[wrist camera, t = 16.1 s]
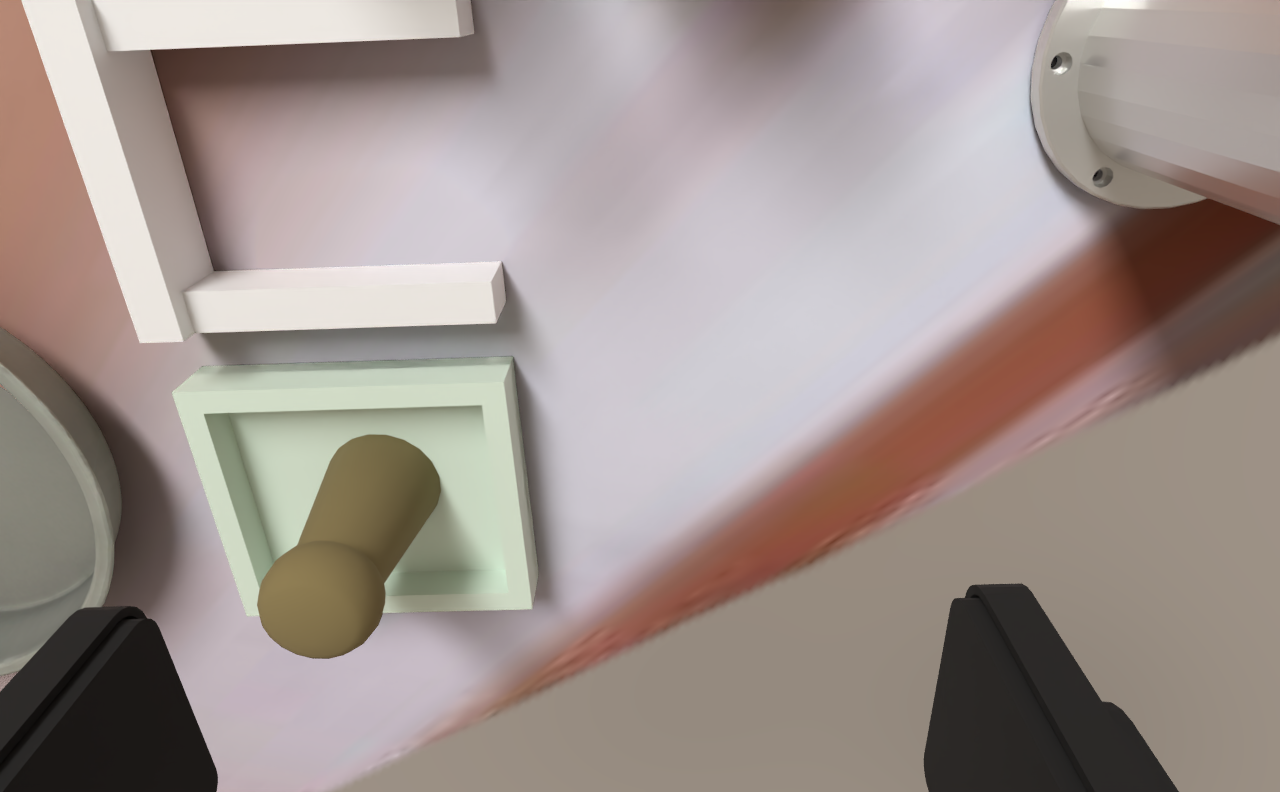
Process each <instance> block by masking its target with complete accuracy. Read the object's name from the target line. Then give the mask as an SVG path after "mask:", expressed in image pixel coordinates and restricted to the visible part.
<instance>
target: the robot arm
mask: <svg viewBox="0 0 1280 792" xmlns="http://www.w3.org/2000/svg"><path fill="white" fill-rule="evenodd" d="M1055 56H1056V57H1057V63H1056V65H1055V66H1054V67H1053V68H1051V62H1052V60H1053V58H1054V57H1055ZM1031 105H1032V111H1033V117H1034V123H1035V128H1036V130H1037V133H1038V135H1039V138H1040V140H1041V143H1042V146H1043V148H1044V150H1045V152H1046V153H1047V155H1048V156H1049V158H1050V159H1051V161H1052V162H1053V164H1054V165H1055V166H1056V168H1057V169H1058V171H1060V172H1061V173H1062V174H1063V175H1064V176H1065V177H1066V178H1067V179H1069V180H1070V181H1071V182H1072V183H1073V184H1074V185H1075V186H1077V187H1079V188H1081V189H1082V190H1084V191H1086V192H1088V193H1090V194H1092V195H1093V196H1095V197H1098V198H1100V199H1103V200H1105V201H1108V202H1111V203H1113V204H1116V205H1120V206H1126V207H1132V208H1138V209H1163V208H1173V207H1178V206H1182V205H1187V204H1192V203H1196V202H1199V201H1202V200H1205V199H1207V198H1209V199H1212V200H1214V201H1217V202H1220V203H1222V204H1225V205H1228V206H1230V207H1233V208H1236V209H1238V210H1241V211H1244V212H1247V213H1249V214H1252V215H1255V216H1257V217H1260V218H1263V219H1265V220H1268V221H1271V222H1273V223H1276V224H1279V225H1280V0H1055V2H1054V3H1053V5H1052V7H1051V9H1050V11H1049V14H1048V16H1047V19H1046V21H1045V24H1044V26H1043V29H1042V32H1041V34H1040V37H1039V39H1038V43H1037V48H1036V53H1035V57H1034V62H1033V67H1032V77H1031ZM1096 171H1098V173H1097V175H1096V176H1095V177H1094V178H1093V176H1094V174H1095V172H1096ZM924 771H925V778H926V783H927V787H928V790H929V792H1179V791H1178V790H1177V788H1176V787H1175V785H1174V784H1173V782H1172V781H1171V779H1170V778H1169V776H1168V775H1167V773H1166V772H1165V771H1164V769H1163V767H1162V766H1161V764H1160V763H1159V762H1158V760H1157V758H1156V757H1155V756H1154V754H1153V752H1152V751H1151V749H1150V748H1149V746H1148V745H1147V743H1146V742H1145V740H1144V739H1143V737H1142V736H1141V734H1140V733H1139V731H1138V730H1137V729H1136V727H1135V725H1134V724H1133V722H1132V721H1131V720H1130V719H1129V718H1128V716H1127V715H1126V714H1125V713H1124V711H1123V710H1122V709H1120V708H1119V707H1117V706H1116V705H1114V704H1113V703H1111V702H1102V701H1101V700H1100V698H1099V696H1098V695H1097V693H1096V692H1095V690H1094V689H1093V687H1092V685H1091V684H1090V682H1089V681H1088V679H1087V678H1086V676H1085V675H1084V673H1083V672H1082V670H1081V668H1080V667H1079V665H1078V664H1077V662H1076V661H1075V659H1074V657H1073V656H1072V655H1071V653H1070V651H1069V650H1068V648H1067V647H1066V645H1065V643H1064V642H1063V640H1062V639H1061V637H1060V636H1059V634H1058V632H1057V631H1056V629H1055V628H1054V626H1053V625H1052V623H1051V622H1050V620H1049V618H1048V617H1047V615H1046V614H1045V612H1044V611H1043V609H1042V608H1041V606H1040V604H1039V603H1038V601H1037V600H1036V598H1035V597H1034V595H1033V593H1032V592H1031V591H1030V590H1029V589H1028V587H1027V586H1025V585H1023V584H989V585H972V586H970V587H969V589H968V590H967V593H966V596H965V598H956V599H954V600H953V601H952V604H951V608H950V613H949V619H948V624H947V630H946V636H945V642H944V647H943V652H942V658H941V664H940V669H939V675H938V681H937V686H936V692H935V697H934V703H933V708H932V714H931V720H930V726H929V731H928V737H927V743H926V748H925V753H924ZM217 784H218V775H217V771H216V768H215V765H214V763H213V760H212V758H211V755H210V753H209V750H208V748H207V745H206V743H205V740H204V738H203V735H202V733H201V730H200V728H199V725H198V723H197V721H196V718H195V716H194V713H193V711H192V708H191V706H190V703H189V701H188V698H187V696H186V693H185V691H184V688H183V686H182V683H181V681H180V679H179V676H178V674H177V671H176V669H175V666H174V664H173V661H172V659H171V656H170V654H169V651H168V649H167V646H166V644H165V641H164V639H163V636H162V634H161V632H160V629H159V627H158V625H157V624H156V622H155V621H153V620H152V619H147V618H146V616H145V615H144V613H143V611H141V610H140V609H138V608H137V607H131V606H125V607H86V608H82V609H80V610H77V611H76V612H74V613H73V614H72V615H71V616H70V617H68V619H67V620H66V621H65V622H64V623H63V624H62V625H61V626H60V627H59V628H58V629H57V631H56V632H55V633H54V634H53V635H52V636H51V637H50V638H49V639H48V640H47V641H46V643H45V644H44V645H43V646H42V647H41V648H40V649H39V650H38V651H37V652H36V653H35V655H34V656H33V657H32V658H31V659H30V660H29V661H28V662H27V663H26V664H25V665H24V667H23V668H22V669H21V670H20V671H19V672H18V673H17V674H16V675H15V676H14V677H13V679H12V680H11V681H10V682H9V683H8V684H7V685H6V686H5V687H4V688H3V689H2V691H1V692H0V792H216V791H217Z"/></svg>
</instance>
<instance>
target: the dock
mask: <svg viewBox="0 0 1280 792" xmlns="http://www.w3.org/2000/svg"><path fill="white" fill-rule="evenodd" d="M22 3H23V6H24V9H25V12H26V15H27V18H28V20H29V23H30V26H31V29H32V32H33V35H34V38H35V41H36V44H37V47H38V49H39V52H40V55H41V58H42V61H43V64H44V67H45V70H46V73H47V75H48V78H49V81H50V84H51V87H52V90H53V93H54V96H55V99H56V101H57V104H58V107H59V110H60V113H61V116H62V119H63V122H64V125H65V128H66V130H67V133H68V136H69V139H70V142H71V145H72V148H73V151H74V154H75V156H76V159H77V162H78V165H79V168H80V171H81V174H82V177H83V180H84V182H85V185H86V188H87V191H88V194H89V197H90V200H91V203H92V206H93V209H94V211H95V214H96V217H97V220H98V223H99V226H100V229H101V232H102V235H103V237H104V240H105V243H106V246H107V249H108V252H109V255H110V258H111V261H112V263H113V266H114V269H115V272H116V275H117V278H118V281H119V284H120V287H121V290H122V292H123V295H124V298H125V301H126V304H127V307H128V310H129V313H130V316H131V318H132V321H133V324H134V327H135V330H136V333H137V336H138V339H139V342H140V343H157V342H184V341H185V340H187V339H188V338H189V337H190V336H192V335H193V334H194V333H215V332H246V331H276V330H306V329H337V328H367V327H398V326H428V325H459V324H489V323H497V321H498V318H499V316H500V314H501V311H502V309H503V307H504V305H505V302H506V294H505V285H504V277H503V268H502V261H496V262H467V263H438V264H409V265H380V266H351V267H322V268H293V269H264V270H235V271H214V270H213V266H212V263H211V259H210V256H209V253H208V249H207V246H206V242H205V239H204V235H203V232H202V228H201V225H200V221H199V218H198V214H197V211H196V207H195V204H194V200H193V197H192V193H191V190H190V187H189V183H188V180H187V176H186V173H185V169H184V166H183V162H182V159H181V155H180V152H179V148H178V145H177V141H176V138H175V134H174V131H173V127H172V124H171V121H170V117H169V114H168V110H167V107H166V103H165V100H164V96H163V93H162V89H161V86H160V82H159V79H158V75H157V72H156V68H155V65H154V61H153V58H152V55H151V51H150V50H155V49H180V48H205V47H230V46H254V45H279V44H304V43H328V42H353V41H378V40H402V39H427V38H452V37H463V36H466V35H470V34H474V24H473V16H472V8H471V0H22Z"/></svg>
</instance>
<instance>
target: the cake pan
mask: <svg viewBox="0 0 1280 792" xmlns="http://www.w3.org/2000/svg"><path fill="white" fill-rule="evenodd" d="M0 384H1V385H2V386H3V387H4V388H5V389H6V390H5V389H3V388H2V387H0V676H3V675H7V674H11V673H14V672H18V671H20V670H21V669H22V668H23V667H24V665H25V664H26V663H27V662H28V661H29V660H30V659H31V658H32V657H33V656H34V655H35V653H36V652H37V651H38V650H39V649H40V648H41V647H42V646H43V645H44V644H45V643H46V641H47V640H48V639H49V638H50V637H51V636H52V635H53V634H54V633H55V632H56V631H57V629H58V628H59V627H60V626H61V625H62V624H63V623H64V622H65V621H66V620H67V619H68V617H70V616H71V615H72V614H73V613H74V612H76V611H77V610H80V609H82V608H86V607H102V606H103V604H104V603H105V600H106V597H107V594H108V592H109V589H110V583H111V579H112V576H113V567H114V543H115V540H116V538H117V534H118V531H119V527H120V521H121V512H122V497H121V488H120V482H119V477H118V473H117V469H116V465H115V462H114V460H113V457H112V454H111V451H110V449H109V447H108V445H107V442H106V440H105V438H104V436H103V434H102V432H101V431H100V429H99V427H98V425H97V423H96V422H95V420H94V419H93V417H92V416H91V414H90V413H89V411H88V410H87V408H86V406H85V405H84V404H83V402H82V401H81V400H80V399H79V397H78V396H77V395H76V394H75V392H74V391H73V390H72V389H71V388H70V386H69V385H68V384H67V383H66V382H65V381H64V380H63V379H62V378H61V377H60V376H59V374H58V373H57V372H56V371H54V370H53V369H52V368H51V367H50V366H49V365H48V364H47V363H46V362H45V361H44V360H43V359H42V358H41V357H39V356H38V355H37V354H36V353H35V352H34V351H32V350H31V349H30V348H29V347H27V346H26V345H25V344H24V343H22V342H21V341H20V340H18V339H17V338H15V337H14V336H13V335H11V334H10V333H8V332H7V331H6V330H4V329H3V328H1V327H0ZM8 391H9V392H10V393H11V394H12V395H11V394H10V393H9V392H8Z"/></svg>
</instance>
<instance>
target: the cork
mask: <svg viewBox="0 0 1280 792" xmlns="http://www.w3.org/2000/svg"><path fill="white" fill-rule="evenodd" d="M440 493H441V486H440V478H439V475H438V473H437V471H436V469H435V467H434V465H433V463H432V461H431V460H430V459H429V458H428V457H427V456H426V455H425V454H424V453H423V452H422V451H421V450H420V449H419V448H417V447H416V446H414V445H412V444H410V443H409V442H407V441H405V440H403V439H400V438H396V437H393V436H389V435H376V434H368V435H364V436H361V437H357V438H353V439H351V440H349V441H348V442H347V443H345V444H344V445H342V446H341V447H339V448H338V450H337V451H336V453H335V454H334V456H333V457H332V459H331V460H330V463H329V465H328V468H327V470H326V473H325V475H324V478H323V480H322V483H321V486H320V488H319V491H318V493H317V496H316V498H315V501H314V503H313V506H312V508H311V511H310V514H309V516H308V519H307V521H306V524H305V526H304V529H303V531H302V534H301V536H300V539H299V542H298V544H297V546H295V547H294V548H292V549H291V550H289V551H288V552H286V553H285V554H283V555H282V556H281V557H279V558H278V559H277V560H276V561H275V562H274V564H273V565H272V567H271V568H270V570H269V571H268V573H267V574H266V576H265V577H264V579H263V580H262V582H261V586H260V589H259V595H258V601H257V607H258V611H259V615H260V619H261V623H262V626H263V628H264V629H265V631H266V632H267V633H268V635H269V636H270V638H272V639H273V640H274V641H275V642H276V643H278V644H279V645H280V646H281V647H283V648H285V649H287V650H289V651H291V652H293V653H295V654H297V655H301V656H305V657H309V658H322V659H329V658H333V657H337V656H341V655H344V654H346V653H348V652H350V651H352V650H354V649H355V648H357V647H359V646H360V645H362V644H363V643H364V642H365V641H366V640H367V639H368V637H369V636H370V635H371V634H372V632H373V631H374V630H375V629H376V627H377V626H378V624H379V622H380V619H381V617H382V613H383V609H384V605H385V598H386V591H385V585H384V583H385V582H386V580H387V579H388V577H389V576H390V574H391V573H392V571H393V570H394V568H395V567H396V565H397V564H398V562H399V561H400V559H401V558H402V556H403V555H404V553H405V552H406V550H407V549H408V548H409V546H410V545H411V543H412V542H413V540H414V539H415V537H416V536H417V534H418V533H419V531H420V530H421V528H422V527H423V525H424V524H425V522H426V521H427V519H428V518H429V516H430V515H431V513H432V512H433V510H434V509H435V507H436V506H437V504H438V500H439V497H440Z"/></svg>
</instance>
